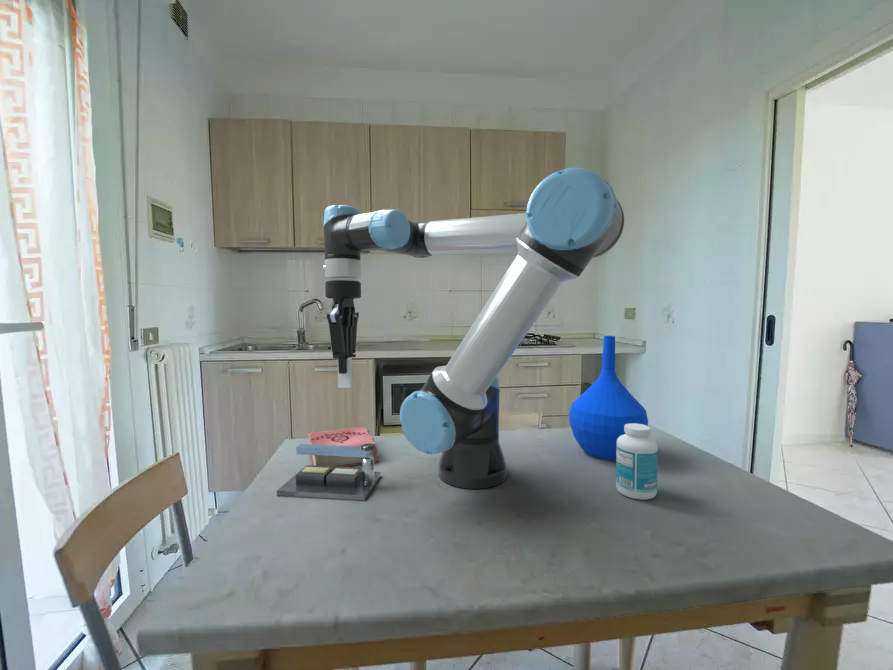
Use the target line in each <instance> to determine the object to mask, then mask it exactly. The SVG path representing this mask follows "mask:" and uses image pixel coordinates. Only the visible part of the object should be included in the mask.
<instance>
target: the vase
mask: <svg viewBox="0 0 893 670" xmlns="http://www.w3.org/2000/svg"><path fill="white" fill-rule="evenodd" d="M602 343H603V344H602V345H603V346H602V359H601V360H602V364H601V365H602V366H601V367H602V368H601V371H600V374H599V375H598V378H597V379H596V380H595V381H594V382H593V383H592V384H591V385H590V386H589V387H588V388H587V389H586V390H585V391H584V392H582V394H581V395H579V397H577V398H575V400H574V401H573V402H571V406H570V409H569V413H568V414H569V417H568V419H569V425H570V428H571V431H572V435H573V437H574V439H575V440H576V442H577V444H578V445H579V447H580V448H581V449H582V450H583V451H584V452H585V453H586V454H587V455H588V456H590V457H593V458H596V459H599V460H602V461H613V462H616V449H617V439H618V437H620V436H621V435H624V434H626V433H625V431H624V426H625V424H630V423H635V424H643V425H646V426H649V418H648V413H647V410H646V408H645V407H644V406H643V405H642V404H641V403H640V402H639V401H638V400H637V399H636V398H635V397H634V395H633V394H631V393H630V392H629V390H628V389H627V388H626V387H625V385H624V384H623V383H622V382H621V381H620V379H619V377H618V376H617V373H616V336H614V335H604V336H603V342H602Z"/></svg>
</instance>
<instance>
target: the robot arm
mask: <svg viewBox="0 0 893 670" xmlns="http://www.w3.org/2000/svg"><path fill="white" fill-rule="evenodd" d="M323 213H324V214H323V215H324V216H323V225H322V227H323V237H324V238H323V242H324V244H323V245H324V265H323V269H324V272H325V275H324V277H325V278H326V279H328V280H327V281H326V282H325V285H324V286H325V287H324V288H325V297H326V298H327V299H332V305H331V312H327V313H326V319H327V322H328V327H329V334H330V336H329V337H330V344H331V352H332V359H337V388H339V389H350V388H353V362H352V361H353V359H352V358H356V357H357V354H356V352H357V351H356V347H357V332H358V323H359V322H358V321H359V317H360V313H359V311H356V307H355V303H354V300H355V299H360V298H361V297H362V284H361V282H360V281H359V280H360V279H361V278H362V266H361V265H362V264H361V262H362V261H361V252H365V251H366V252H368V251H382V252H383V251H384V252H388V253H393V254H399V255H405V256H410V257H414V258H416V259H417V258H418V259H425V258H426V259H427V258H430V257H432V256H451V255H453V256H454V255H479V254H480V255H481V254H482V255H484V254H485V255H486V254H487V255H489V254H517V255H516V256H515V258H514V259H513V260H512V262H511V264H510V265H509V267H508V269H507V270H506V272H505V273H504V275H503V276H502V278H501V280H500V281H499V283H498V284H497V286H496V287H495V289H494V290H493V292H492V293H491V295H490V297H489V299H487V301H486V303H485V305H484V306H483V308H482V309H481V311H480V312H479V313H478V315H477V317H476V318H475V320H474V322H472V323H473V324H472V325H471V327H470V328H469V329H468V331H467V332H466V334H465V336H464V337H463V339H462V340H461V342H460V343H459V345H458V346H457V348H456V350H455V352H454V353H453V355H452V356H451V357H450V359H449V360H448V363H447V364H446V365H441V366H436V367H435V368H434V369H433V371H431V374H430V375H429V377H428V379H426V381H425V383H424V385H423V386H422V388H421V389H420V390H416V391H413V392H412V393H410V395H408V396H406V398H405V399H404V400H403V401H402V403H401V405H400V409H399V422H400V424H401V430H402V433H403V434H404V437H405V438H406V439H407V441H408V442H409V444H410V445H411V446H412V447H413V448H415V449H416V450H417V451H419V452H421V453H423V454H426V455H437V454H441V455H440V458H439V462H438V476H439V478H440V479H441V480H442V481H443V482H444V483H446V484H448V485H450V486H454V487H457V488H460V489H461V488H462V489H470V490H471V489H472V490H473V489H477V490H478V489H486V488H492V487H495V486H497V485H500V484H502V483H503V482H504V481H505V480H506V478H507V472H508V471H507V469H508V468H507V466H508V465H507V463H506V462H507V461H506V458H505V456H504V453H503V452H504V451H503V449H502V446H501V444H500V392H501V388H500V379H499V377H498V375H499V373H500V372H501V371H502V369H503V368H504V366H505V365H506V364H507V362H508V361H509V359H510V358H511V356H512V355H513V354H514V352H515V351H516V349H517V348H518V347H519V345H520V344H521V342H522V341H523V340H524V338H525V337H526V335H527V334H528V333H529V331H530V330H531V329H532V327H533V325H534V324H535V323H536V322H537V320H538V318H539V317H540V316H541V314H542V313H543V311H544V310H545V309H546V307H547V306H548V304H549V303H550V301H551V300H552V299H553V297H554V296H555V294H557V291H558V290H559V289H560V287H561V286H562V285H563V283H565V282H567V281H571V280H577V279H579V278H580V276H581V274H583V272H584V270H585V269H586V267H587V266H588V265H589V264H590V262H591V261H592V260H593V259H595V258H599V257H601V256H603V255H605V254H606V253H608V252H609V251H610V250H612V249H613V248H614V247H615V246H616V244H617V243H618V242H619V240H620V239H621V237H622V234H623V232H624V227H625V213H624V209H623V207H622V205H621V203H620V202H619V200H618V199H617V197H616V194H615V191H614V189H613V187H612V186H611V184H610V183H609V182H608V180H605V179H604V178H602V177H601V175H599V174H598V173H596V172H594V171H593V170H590V169H587V168H583V167H568V168H567V167H566V168H564V169H561V170H558V171H555V172H552V173H551V174H549V175H548V176H546V177H545V178H543V179H542V181H540V182H539V184H537V185H536V187H535V188H534V189H533V191H532V192H531V194H530V196H529V199H528V202H527V205H526V210H525V212H523V213H512V214H511V213H510V214H500V215H499V214H498V215H488V216H487V215H486V216H477V217H466V218H465V217H464V218H453V219H441V220H431V221H419V222H418V221H417V222H416V221H412V220H409V219H408V218H407V216H406V215H405V214H404V213H403V211H401V210H400V209H396V208H395V209H386V208H385V209H381V210H380V209H379V210H376V211H370V212H365V213H361V212H360V210H359V208H357V207H355V206H352V205H347V204H339V205H338V204H333V205H329V206H326V208H325V210H324V212H323Z"/></svg>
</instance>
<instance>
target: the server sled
mask: <svg viewBox="0 0 893 670" xmlns="http://www.w3.org/2000/svg"><path fill="white" fill-rule="evenodd" d="M381 472H382V471H375V462H374V457H373V456H367V457H362V464H361V467H354V466H348V467H335V468H334V467H333V466H312V465H310V464H307V465H306V466H304V467H303V468H301V469H300V470H299V471H298V472H297V473H295V474H294V475H293V476H292V477H291V478H290V479H288V480H287V481H286V482H285V483H283V485H282V486H280V487H279V488H278V489H277V490H276V496H281V497H298V498H299V497H300V498H312V499H313V498H314V499H331V500H350V501H366V499H368V496H369V495H370V493H371V492H372V490H373V488H374V487H375V486H376V485H377V482H378V481H379V480H380V478H381V477H382V473H381Z"/></svg>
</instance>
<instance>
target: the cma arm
mask: <svg viewBox="0 0 893 670" xmlns="http://www.w3.org/2000/svg"><path fill="white" fill-rule="evenodd" d="M373 449H374V444H371V443H368V444H363V445H362V446H339V445H314V444H310V443H308V444H307V443H300V444H299V445H298V446H296V455H303V456H305V455H306V456H310V455H323V456H345V457H367V456H368V455H369V454H370V453H369V451H370V450H373Z"/></svg>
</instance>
